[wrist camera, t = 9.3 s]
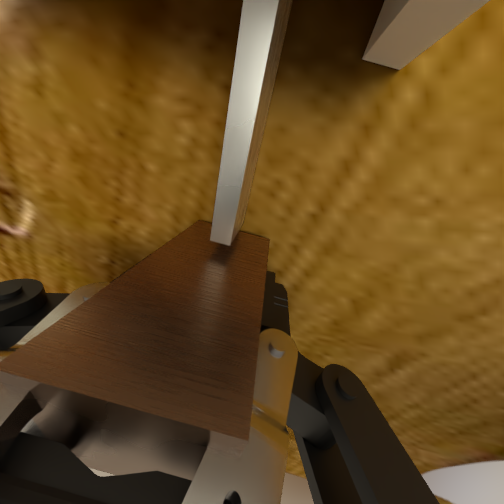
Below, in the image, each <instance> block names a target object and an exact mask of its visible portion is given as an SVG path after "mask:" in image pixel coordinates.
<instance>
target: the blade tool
mask: <svg viewBox="0 0 504 504" xmlns="http://www.w3.org/2000/svg"><path fill="white" fill-rule="evenodd" d="M292 2H293V0H243V6H242V13H241V21H240V28H239V35H238V42H237V49H236V57H235V64H234V71H233V78H232V85H231V93H230V100H229V107H228V114H227V122H226V129H225V136H224V143H223V150H222V158H221V165H220V172H219V179H218V186H217V194H216V201H215V208H214V215H213V222H212V224H211V223H208V222H204V221H200V220H199V221H197V222H196V223H194V224H193V225H192V226H190V227H189V228H187V229H186V230H185V231H183V232H182V233H180V234H179V235H178V236H176V237H175V238H173V239H172V240H171V241H169V242H168V243H166V244H165V245H164V246H162V247H161V248H159V249H158V250H156V251H155V252H154V253H152V254H151V255H149V256H148V257H147V258H145V259H144V260H142V261H141V262H140V263H138V264H137V265H135V266H134V267H133V268H131V269H130V270H128V271H127V272H126V273H124V274H123V275H121V276H120V277H119V278H117V279H116V280H114V281H113V282H111V283H110V284H109V285H107V286H106V287H104V288H103V289H102V290H100V291H99V292H97V293H96V294H95V295H93V296H92V297H90V298H89V299H88V300H86V301H85V302H83V303H82V304H81V305H79V306H78V307H76V308H75V309H73V310H72V311H71V312H69V313H68V314H66V315H65V316H64V317H62V318H61V319H59V320H58V321H57V322H55V323H54V324H52V325H51V326H50V327H48V328H47V329H45V330H44V331H43V332H41V333H40V334H38V335H37V336H35V337H34V338H33V339H31V340H30V341H28V342H27V343H26V344H24V345H23V346H21V347H20V348H19V349H17V350H16V351H14V352H13V353H12V354H10V355H9V356H7V357H6V358H5V359H3V360H2V361H0V381H1V382H3V383H6V384H10V385H13V386H17V387H20V388H24V389H27V390H30V391H31V393H32V394H33V396H34V397H35V399H36V400H37V402H38V404H39V405H40V407H41V408H42V410H43V411H41V412H40V413H38V414H37V415H36V416H34V417H33V418H32V419H33V421H34V422H35V423H36V425H37V426H38V427H39V429H40V430H41V431H42V433H43V434H44V436H45V437H46V438H47V439H48V440H52V441H55V442H59V443H62V444H64V445H65V446H66V447H67V448H68V449H69V450H71V451H72V452H73V453H74V454H75V455H76V456H77V457H78V458H79V459H80V460H81V461H82V462H83V463H84V464H85V465H86V466H87V467H89V468H93V469H96V470H100V471H103V472H107V473H110V474H114V475H124V474H132V473H141V472H149V471H160V472H164V473H167V474H171V475H174V476H178V477H181V478H185V479H188V480H193V478H194V476H195V474H196V471H197V469H198V467H199V465H200V463H201V461H202V458H203V456H204V454H205V452H206V450H207V447H208V445H209V443H210V441H211V442H215V443H218V444H222V445H225V446H229V447H232V448H236V449H239V450H244V448H245V447H246V445H247V443H248V441H249V433H250V423H251V414H252V404H253V395H254V385H255V376H256V366H257V356H258V347H259V337H260V328H261V318H262V309H263V299H264V290H265V280H266V270H267V261H268V251H269V242H270V239H267V238H263V237H259V236H256V235H252V234H248V233H244V232H241V231H239V230H240V228H241V226H242V225H243V222H244V218H245V213H246V209H247V204H248V200H249V195H250V191H251V186H252V182H253V177H254V173H255V168H256V164H257V159H258V155H259V150H260V146H261V141H262V137H263V132H264V128H265V123H266V119H267V114H268V110H269V105H270V101H271V96H272V92H273V87H274V83H275V78H276V74H277V69H278V65H279V60H280V56H281V51H282V47H283V42H284V38H285V33H286V29H287V25H288V20H289V16H290V11H291V7H292Z"/></svg>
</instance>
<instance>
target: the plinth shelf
mask: <svg viewBox="0 0 504 504" xmlns="http://www.w3.org/2000/svg"><path fill="white" fill-rule="evenodd" d="M488 1H490V0H385V1H384V4H383V6H382V9H381V11H380V14H379V16H378V19H377V22H376V24H375V27H374V29H373V32H372V35H371V37H370V40H369V42H368V45H367V47H366V50H365V53H364V55H363V58H362V59H363V60H366V61H370V62H373V63H377V64H380V65H384V66H388V67H391V68H395V69H398V70H400V69H402V68H403V67H404V66H406V65H407V64H408V63H409V62H411V61H412V60H413V59H415V58H416V57H417V56H418V55H420V54H421V53H422V52H424V51H425V50H426V49H428V48H429V47H430V46H431V45H433V44H434V43H435V42H437V41H438V40H439V39H440V38H442V37H443V36H444V35H446V34H447V33H448V32H450V31H451V30H452V29H453V28H455V27H456V26H457V25H459V24H460V23H461V22H462V21H464V20H465V19H466V18H468V17H469V16H470V15H472V14H473V13H474V12H475V11H477V10H478V9H479V8H481V7H482V6H483V5H484V4H486V3H487V2H488Z"/></svg>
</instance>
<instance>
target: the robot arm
mask: <svg viewBox="0 0 504 504" xmlns="http://www.w3.org/2000/svg"><path fill="white" fill-rule="evenodd" d="M150 255H151V254H150ZM147 257H148V256H147ZM147 257H146V258H147ZM144 259H145V258H144ZM144 259H143V260H144ZM140 262H141V261H140ZM140 262H139V263H140ZM137 264H138V263H137ZM137 264H136V265H137ZM133 267H134V266H133ZM133 267H132V268H133ZM130 269H131V268H130ZM130 269H129V270H130ZM127 271H128V270H127ZM127 271H126V272H127ZM126 272H124V273H126ZM124 273H123V274H124ZM123 274H122V275H123ZM120 276H121V275H120ZM120 276H119V277H120ZM119 277H117V278H119ZM117 278H116V279H117ZM116 279H115V280H116ZM113 281H114V280H113ZM113 281H112V282H113ZM110 283H111V282H110ZM110 283H93V284H89V285H86V286H83V287H81V288H79V289H77V290H75V291H73V292H72V293H71V294H65V293H46V292H45V290H44V287H43V284H42V283H41V282H39V281H37V280H33V279H15V280H9V281H4V282H0V361H2V360H3V359H5V358H6V357H7V356H9V355H10V354H12V353H13V352H14V351H16V350H17V349H19V348H20V347H21V346H23V345H24V344H26V343H27V342H28V341H30V340H31V339H33V338H34V337H35V336H37V335H38V334H40V333H41V332H43V331H44V330H45V329H47V328H48V327H50V326H51V325H52V324H54V323H55V322H57V321H58V320H59V319H61V318H62V317H64V316H65V315H66V314H68V313H69V312H71V311H72V310H73V309H75V308H76V307H78V306H79V305H81V304H82V303H83V302H85V301H86V300H88V299H89V298H90V297H92V296H93V295H95V294H96V293H97V292H99V291H100V290H102V289H103V288H104V287H106V286H107V285H109V284H110ZM287 300H288V299H287V291H286V290H285V288H284V286H283V285H282V284H278V283H275V273H274V272H270V271H267V270H266V280H265V290H264V299H263V309H262V318H261V328H260V337H259V347H258V356H257V366H256V376H255V385H254V395H253V404H252V414H251V423H250V433H249V441H248V443H247V445H246V447H245V448H244V450H239V449H236V448H232V447H229V446H225V445H222V444H218V443H215V442H211V441H210V443H209V445H208V447H207V450H206V452H205V454H204V456H203V458H202V461H201V463H200V465H199V467H198V469H197V471H196V474H195V476H194V478H193V480H188V479H185V478H181V477H178V476H174V475H171V474H167V473H164V472H160V471H149V472H141V473H132V474H124V475H115V476H107V477H100V476H97V475H96V474H94V473H93V472H92V471H91V470H90V469H89V468H88V467H87V466H86V465H85V464H84V463H83V462H82V461H81V460H80V459H79V458H78V457H77V456H76V455H75V454H74V453H73V452H72V451H71V450H69V449H68V448H67V447H66V446H65V445H64V444H62V443H59V442H55V441H52V440H48V439H47V438H46V437H45V436H44V434H43V433H42V431H41V430H40V429H39V427H38V426H37V425H36V423H35V422H34V421H33V419H32V418H33V417H34V416H36V415H37V414H38V413H40V412H41V411H43V410H42V408H41V407H40V405H39V404H38V402H37V400H36V399H35V397H34V396H33V394H32V393H31V391H30V390H27V389H24V388H20V387H17V386H13V385H10V384H6V383H3V382H1V381H0V504H280V502H281V495H282V489H283V482H284V476H285V469H286V463H287V456H288V447H289V433H288V431H287V430H286V425H287V426H289V427H290V428H291V429H293V432H294V435H295V439H296V442H297V446H298V449H299V453H300V456H301V460H302V463H303V467H304V470H305V474H306V477H307V481H308V484H309V488H310V491H311V494H312V498H313V501H314V504H439V502H438V501H437V499H436V497H435V496H434V494H433V493H432V491H431V490H430V488H429V487H428V485H427V483H426V482H425V480H424V479H423V477H422V476H421V474H420V472H419V471H418V469H417V468H416V466H415V465H414V463H413V462H412V460H411V458H410V457H409V455H408V454H407V452H406V451H405V449H404V447H403V446H402V444H401V443H400V441H399V440H398V438H397V436H396V435H395V433H394V432H393V430H392V429H391V427H390V426H389V424H388V422H387V421H386V419H385V418H384V416H383V415H382V413H381V411H380V410H379V408H378V407H377V405H376V404H375V402H374V400H373V399H372V397H371V396H370V394H369V393H368V391H367V390H366V388H365V386H364V385H363V384H362V382H361V381H360V380H359V378H358V377H357V376H356V375H355V374H354V373H352V372H351V371H350V370H348V369H347V368H345V367H343V366H341V365H337V364H330V365H328V366H326V367H325V368H324V369H323V368H321V367H320V366H318V365H316V364H315V363H313V362H311V361H310V360H308V359H307V358H305V357H304V356H303V355H302V354H300V353H299V351H298V349H297V346H296V344H295V342H294V341H293V339H292V338H291V337H290V326H289V312H288V302H287Z"/></svg>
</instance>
